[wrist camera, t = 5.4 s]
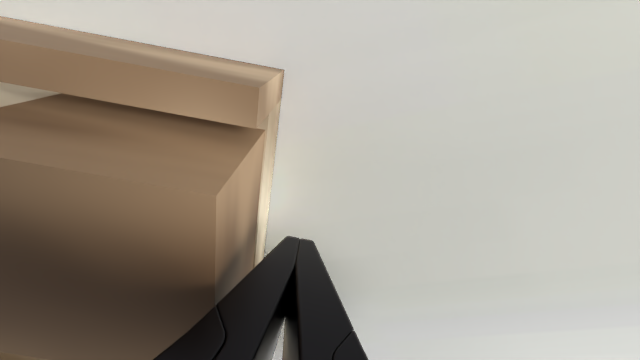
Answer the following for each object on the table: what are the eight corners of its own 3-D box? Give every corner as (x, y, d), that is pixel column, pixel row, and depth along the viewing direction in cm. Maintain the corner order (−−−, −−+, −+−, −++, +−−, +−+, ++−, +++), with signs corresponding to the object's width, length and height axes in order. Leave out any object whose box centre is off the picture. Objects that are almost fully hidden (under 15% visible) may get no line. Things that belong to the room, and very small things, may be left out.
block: (251, 276, 12) (213, 386, 8) (97, 250, 12) (-13, 349, 8) (265, 130, 9) (216, 196, 5) (63, 92, 9) (-126, 135, 5)
